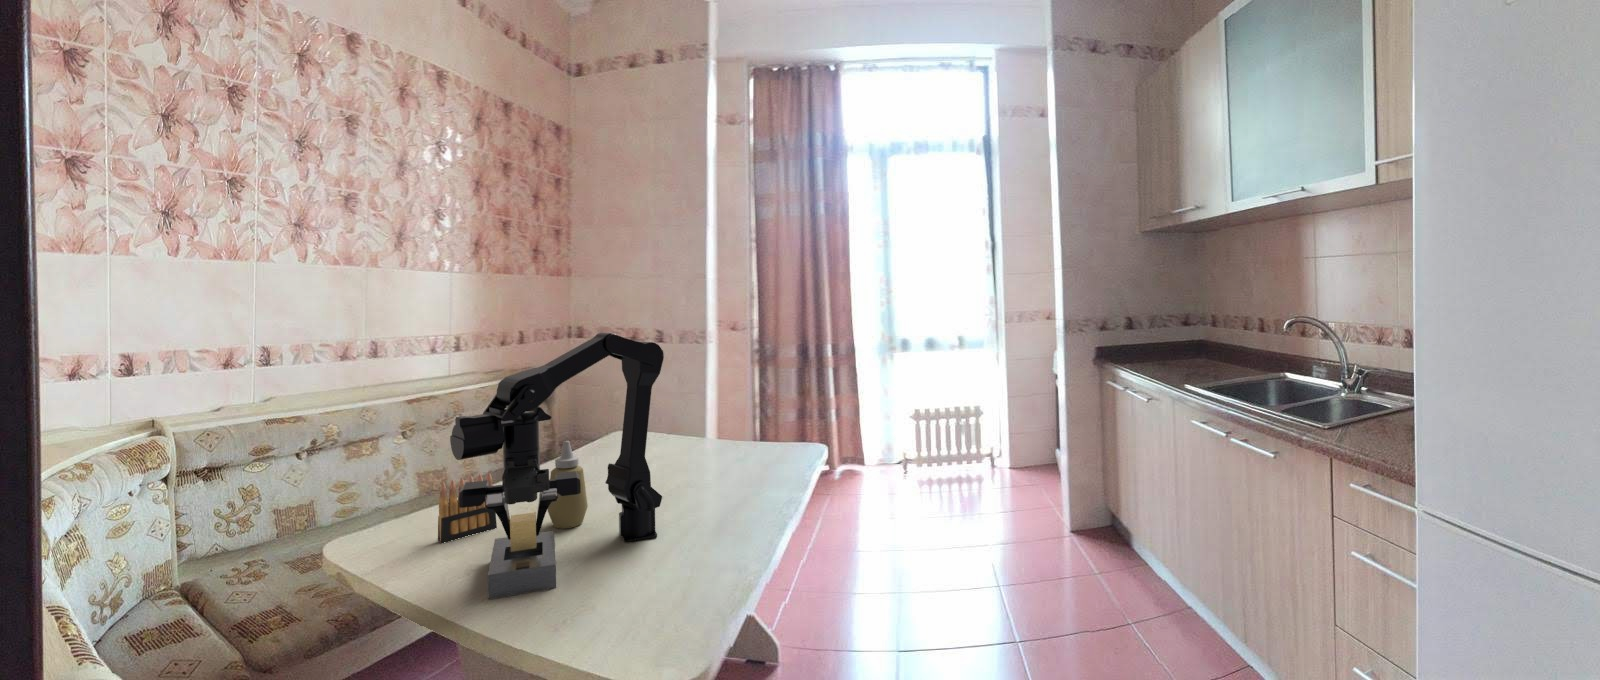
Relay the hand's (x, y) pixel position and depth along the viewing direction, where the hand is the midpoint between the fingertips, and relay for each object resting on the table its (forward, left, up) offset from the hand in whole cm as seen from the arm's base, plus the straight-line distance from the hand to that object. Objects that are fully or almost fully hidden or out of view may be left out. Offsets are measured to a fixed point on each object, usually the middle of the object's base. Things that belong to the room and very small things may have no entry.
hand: (523, 536), depth 103 cm
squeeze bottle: (-8, -22, -7) cm, 24 cm away
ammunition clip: (+11, -24, -7) cm, 27 cm away
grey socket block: (0, 0, -6) cm, 6 cm away
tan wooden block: (0, 0, -2) cm, 2 cm away
